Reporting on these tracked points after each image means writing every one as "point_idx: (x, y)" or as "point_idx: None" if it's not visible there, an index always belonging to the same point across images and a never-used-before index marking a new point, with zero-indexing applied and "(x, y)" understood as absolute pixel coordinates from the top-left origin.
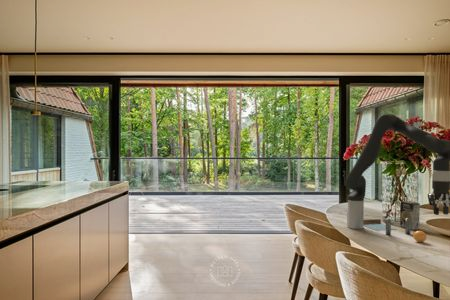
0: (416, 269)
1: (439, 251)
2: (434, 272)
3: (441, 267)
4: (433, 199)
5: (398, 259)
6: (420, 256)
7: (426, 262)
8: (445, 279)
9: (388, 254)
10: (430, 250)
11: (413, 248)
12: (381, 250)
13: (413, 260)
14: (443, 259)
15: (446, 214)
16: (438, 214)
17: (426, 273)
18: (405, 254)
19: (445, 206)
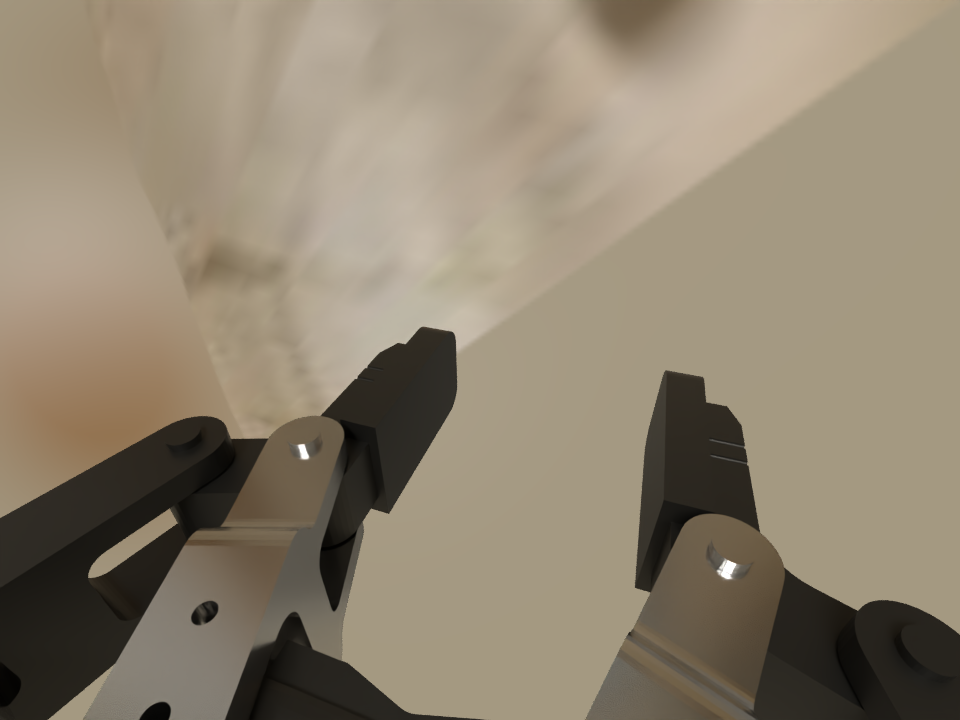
0: (224, 391)
1: (555, 232)
2: None
3: None
4: (57, 673)
5: (194, 275)
6: (334, 275)
7: (309, 354)
8: None
9: (166, 185)
10: (503, 188)
11: (400, 96)
12: (142, 89)
13: (261, 312)
14: None
15: (649, 436)
16: (447, 402)
17: (242, 428)
18: (264, 215)
19: (654, 568)
